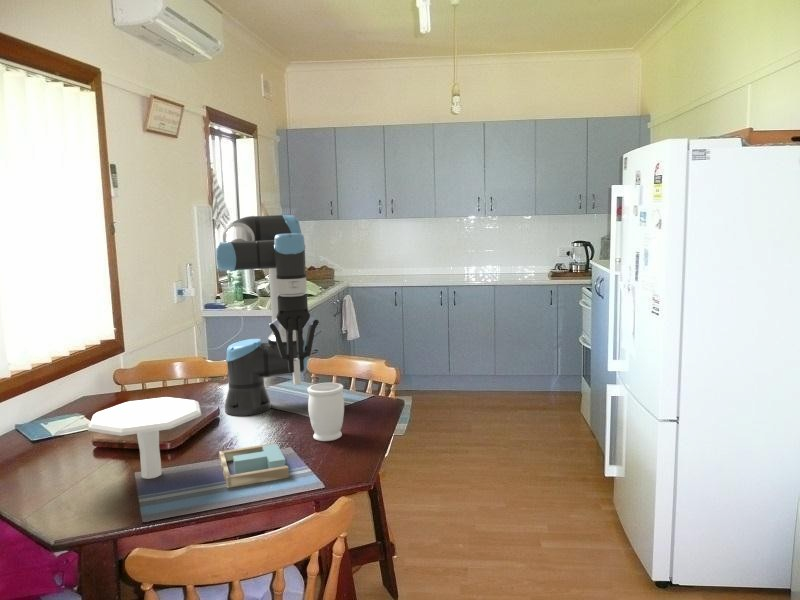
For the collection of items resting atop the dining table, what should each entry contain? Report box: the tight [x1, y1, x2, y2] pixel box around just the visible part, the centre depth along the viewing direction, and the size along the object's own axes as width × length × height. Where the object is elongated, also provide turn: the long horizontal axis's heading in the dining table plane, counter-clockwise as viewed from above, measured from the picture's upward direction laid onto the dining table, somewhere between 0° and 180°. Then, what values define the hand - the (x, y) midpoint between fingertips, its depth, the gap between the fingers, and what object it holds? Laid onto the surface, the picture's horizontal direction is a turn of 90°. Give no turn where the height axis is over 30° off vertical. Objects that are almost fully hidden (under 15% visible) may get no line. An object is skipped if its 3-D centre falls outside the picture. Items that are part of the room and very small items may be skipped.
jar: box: [306, 382, 345, 442], centre depth 185 cm, size 11×10×15 cm
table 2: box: [87, 396, 202, 480], centre depth 161 cm, size 28×28×17 cm
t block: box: [232, 443, 287, 474], centre depth 164 cm, size 12×12×4 cm
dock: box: [218, 442, 290, 489], centre depth 164 cm, size 19×15×2 cm
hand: (296, 383), depth 166 cm, fingers closed
